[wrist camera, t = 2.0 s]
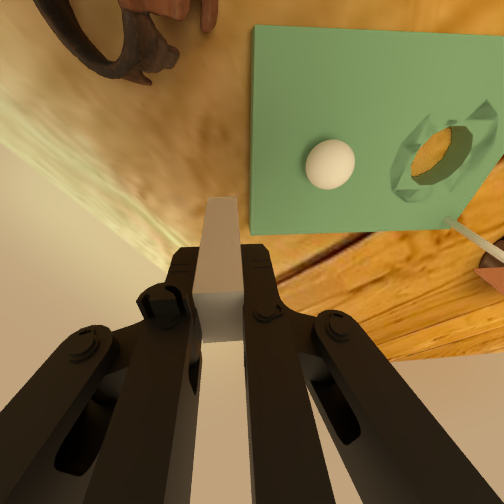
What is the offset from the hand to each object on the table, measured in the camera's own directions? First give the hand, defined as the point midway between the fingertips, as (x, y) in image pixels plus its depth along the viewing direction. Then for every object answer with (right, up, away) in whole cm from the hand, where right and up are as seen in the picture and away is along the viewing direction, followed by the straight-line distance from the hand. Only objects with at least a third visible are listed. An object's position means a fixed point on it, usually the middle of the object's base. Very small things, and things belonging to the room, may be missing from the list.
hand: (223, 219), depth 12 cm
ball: (+8, +6, +7) cm, 12 cm away
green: (+14, +9, +11) cm, 19 cm away
